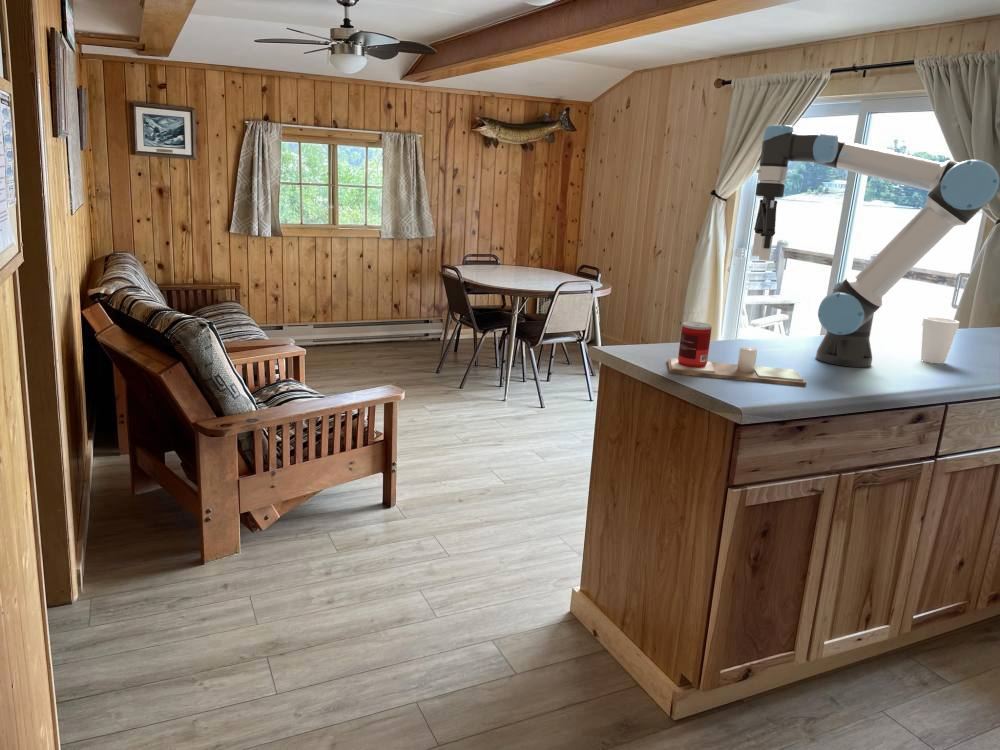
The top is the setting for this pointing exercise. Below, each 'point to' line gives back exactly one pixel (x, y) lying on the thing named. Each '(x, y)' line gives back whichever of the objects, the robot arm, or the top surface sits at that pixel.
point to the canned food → (694, 344)
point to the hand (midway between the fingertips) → (760, 258)
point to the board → (739, 373)
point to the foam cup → (937, 338)
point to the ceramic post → (747, 360)
